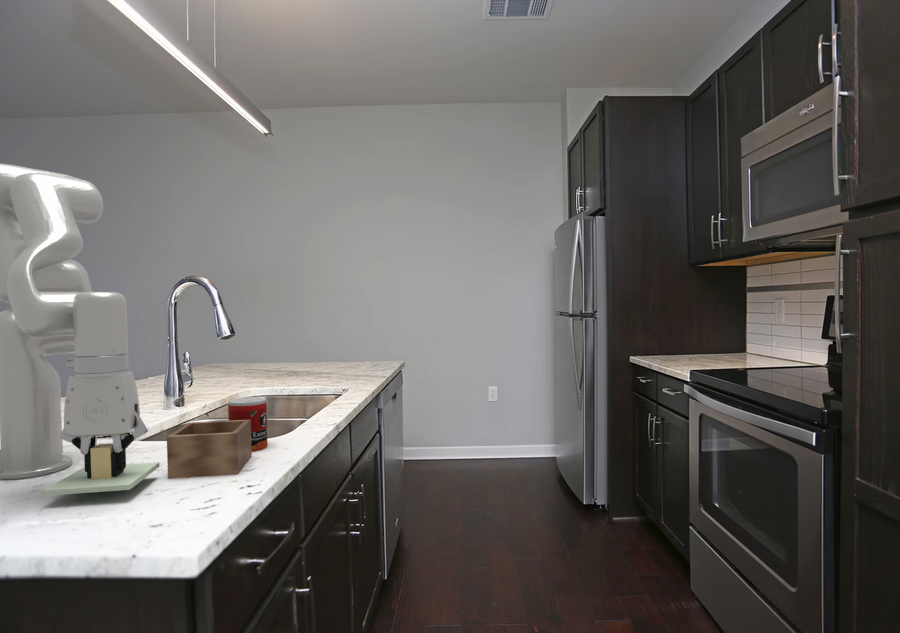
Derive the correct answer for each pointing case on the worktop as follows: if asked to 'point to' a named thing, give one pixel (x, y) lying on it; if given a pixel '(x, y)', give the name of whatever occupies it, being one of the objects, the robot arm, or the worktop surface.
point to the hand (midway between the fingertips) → (105, 473)
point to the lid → (102, 475)
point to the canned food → (251, 418)
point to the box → (209, 449)
